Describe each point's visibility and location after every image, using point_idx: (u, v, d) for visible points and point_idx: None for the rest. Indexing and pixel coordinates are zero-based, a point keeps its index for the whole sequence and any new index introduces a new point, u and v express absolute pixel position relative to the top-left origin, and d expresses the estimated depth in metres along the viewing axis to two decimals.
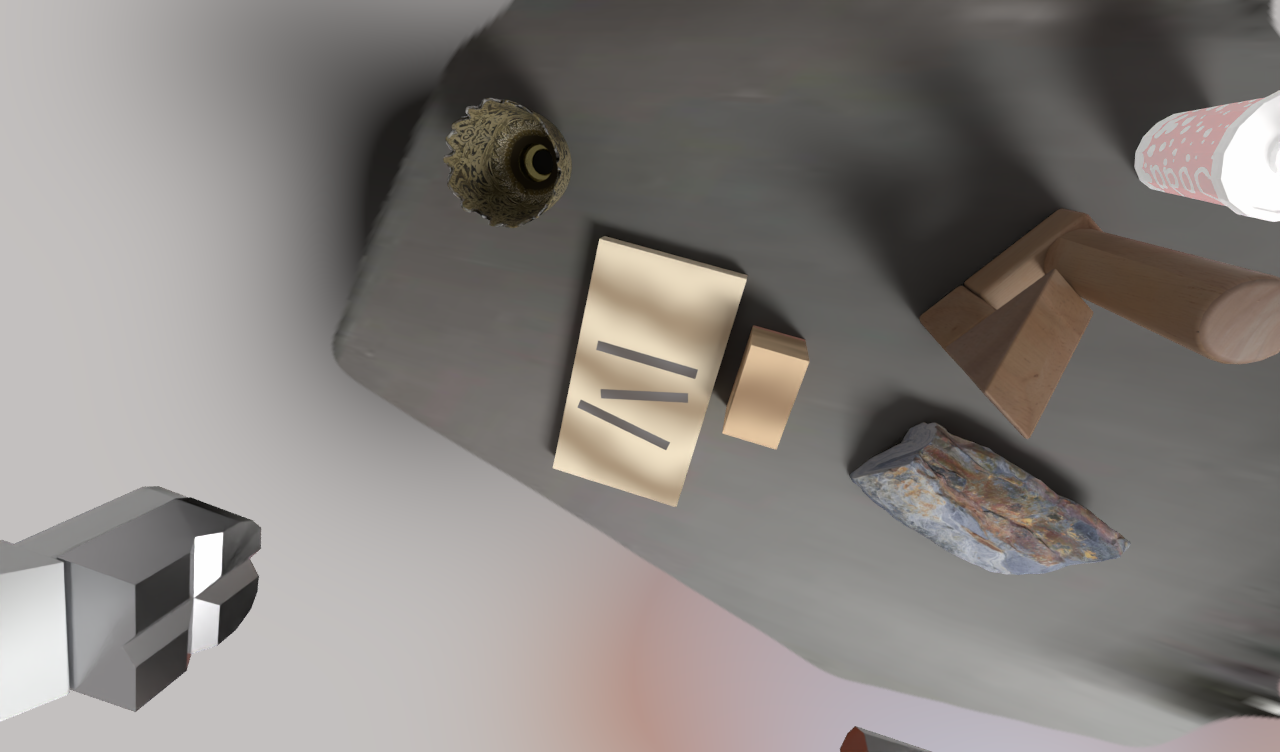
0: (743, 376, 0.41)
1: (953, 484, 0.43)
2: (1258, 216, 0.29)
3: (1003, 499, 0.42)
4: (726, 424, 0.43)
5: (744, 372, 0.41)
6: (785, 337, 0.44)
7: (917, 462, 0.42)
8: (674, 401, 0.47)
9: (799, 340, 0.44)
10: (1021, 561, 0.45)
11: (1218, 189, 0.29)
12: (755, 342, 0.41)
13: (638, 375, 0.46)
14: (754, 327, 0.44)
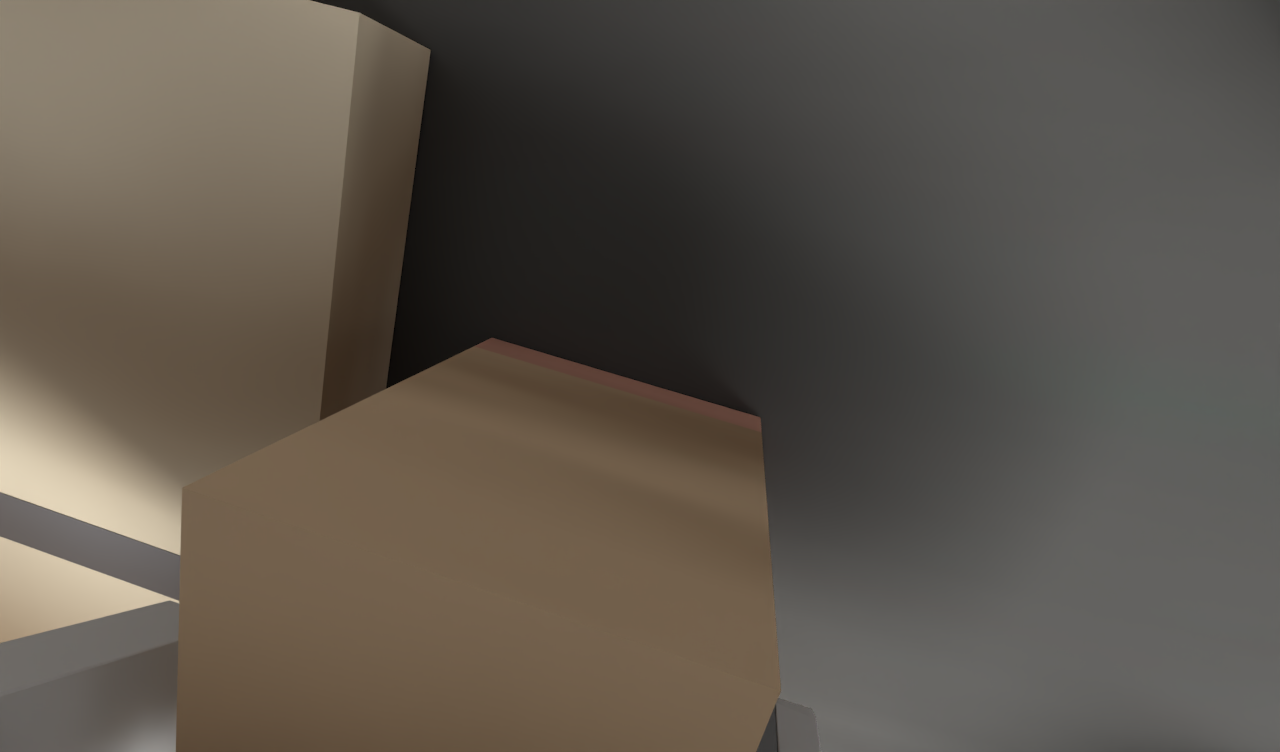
0: None
1: None
2: None
3: None
4: None
5: (193, 729, 0.04)
6: (643, 407, 0.08)
7: None
8: None
9: (726, 425, 0.08)
10: None
11: None
12: (296, 457, 0.05)
13: None
14: (480, 349, 0.08)
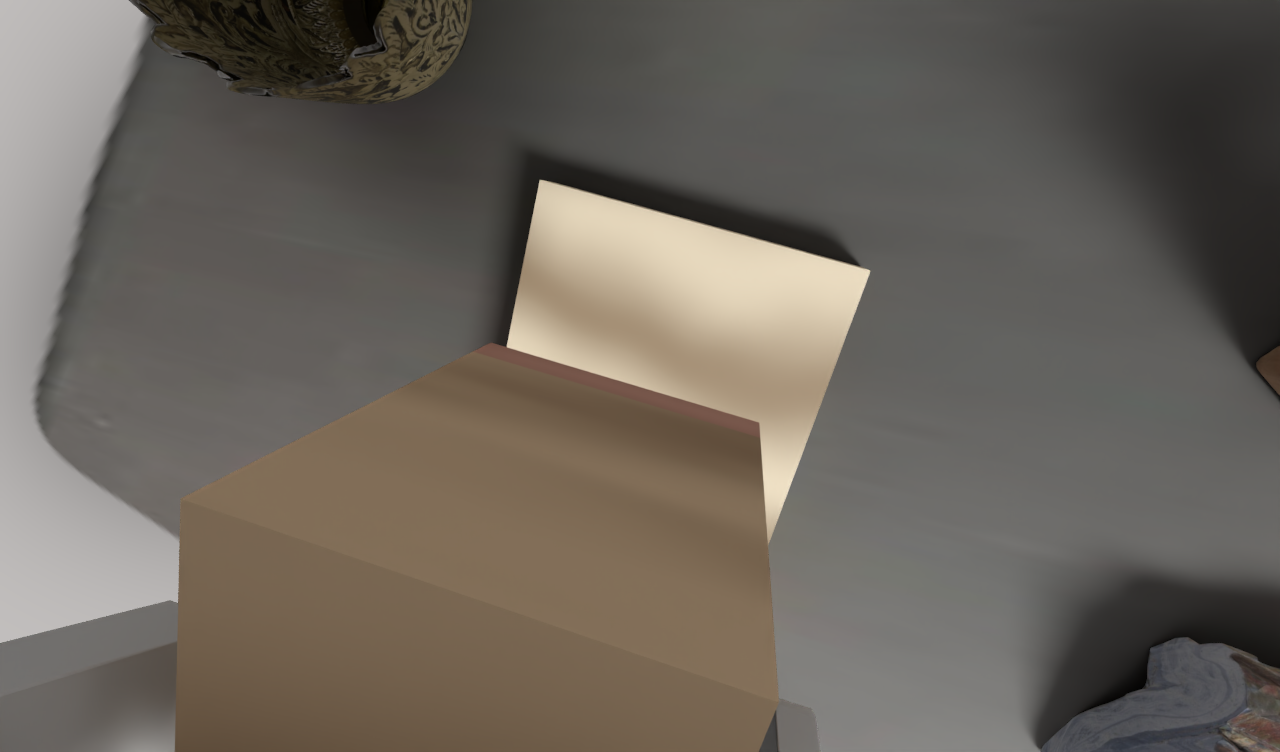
0: None
1: None
2: None
3: None
4: None
5: (193, 738, 0.04)
6: (642, 412, 0.08)
7: None
8: None
9: (724, 430, 0.08)
10: None
11: None
12: (294, 466, 0.05)
13: None
14: (479, 355, 0.08)
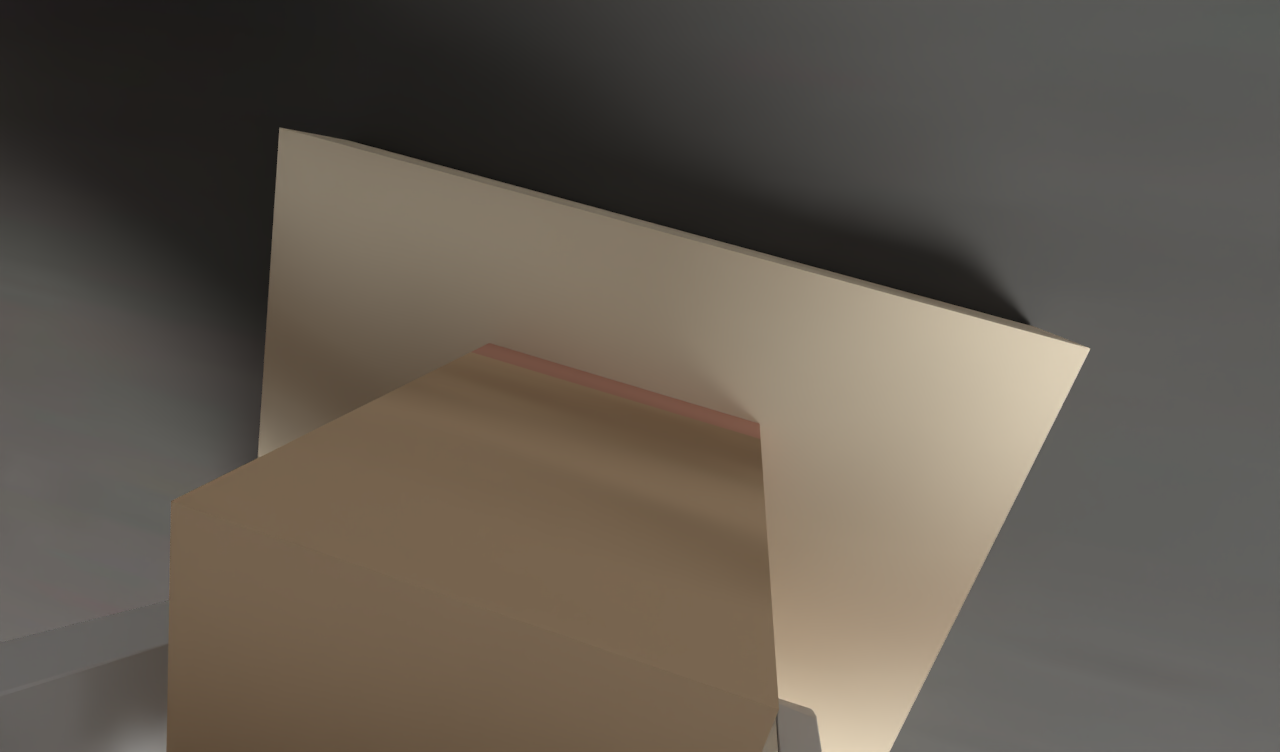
0: None
1: None
2: None
3: None
4: None
5: (184, 744, 0.04)
6: (642, 413, 0.07)
7: None
8: None
9: (724, 431, 0.08)
10: None
11: None
12: (288, 470, 0.04)
13: None
14: (477, 355, 0.08)
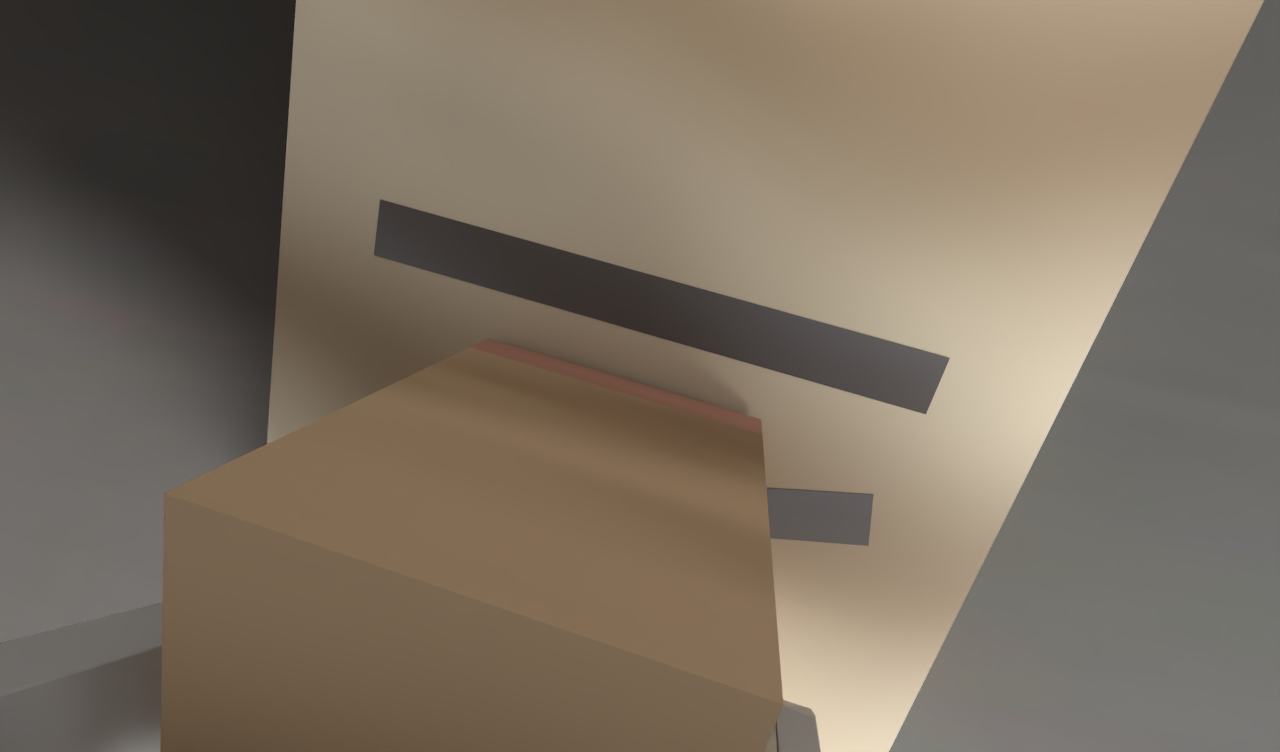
0: None
1: None
2: None
3: None
4: None
5: (178, 741, 0.04)
6: (642, 408, 0.07)
7: None
8: (790, 535, 0.09)
9: (726, 426, 0.08)
10: None
11: None
12: (283, 462, 0.04)
13: None
14: (476, 350, 0.08)
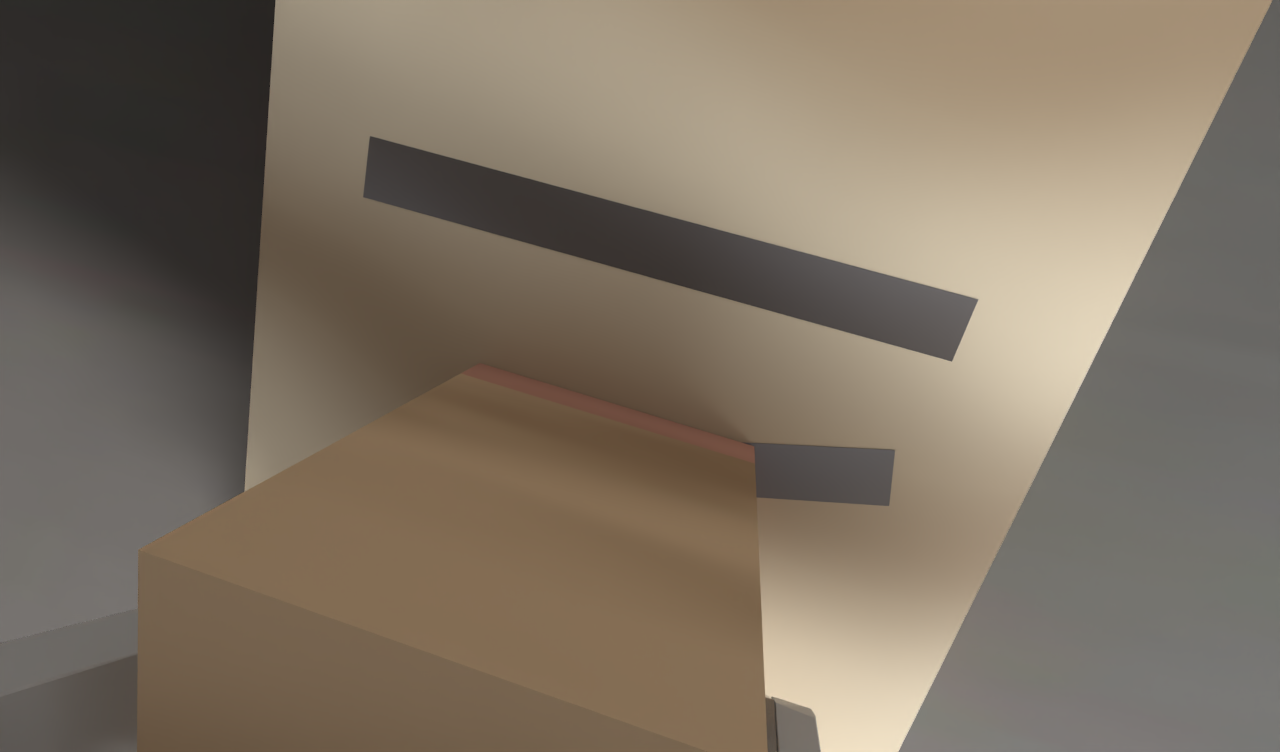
0: None
1: None
2: None
3: None
4: None
5: None
6: (634, 438, 0.07)
7: None
8: (805, 496, 0.08)
9: (718, 456, 0.07)
10: None
11: None
12: (264, 509, 0.04)
13: (603, 345, 0.08)
14: (467, 377, 0.08)
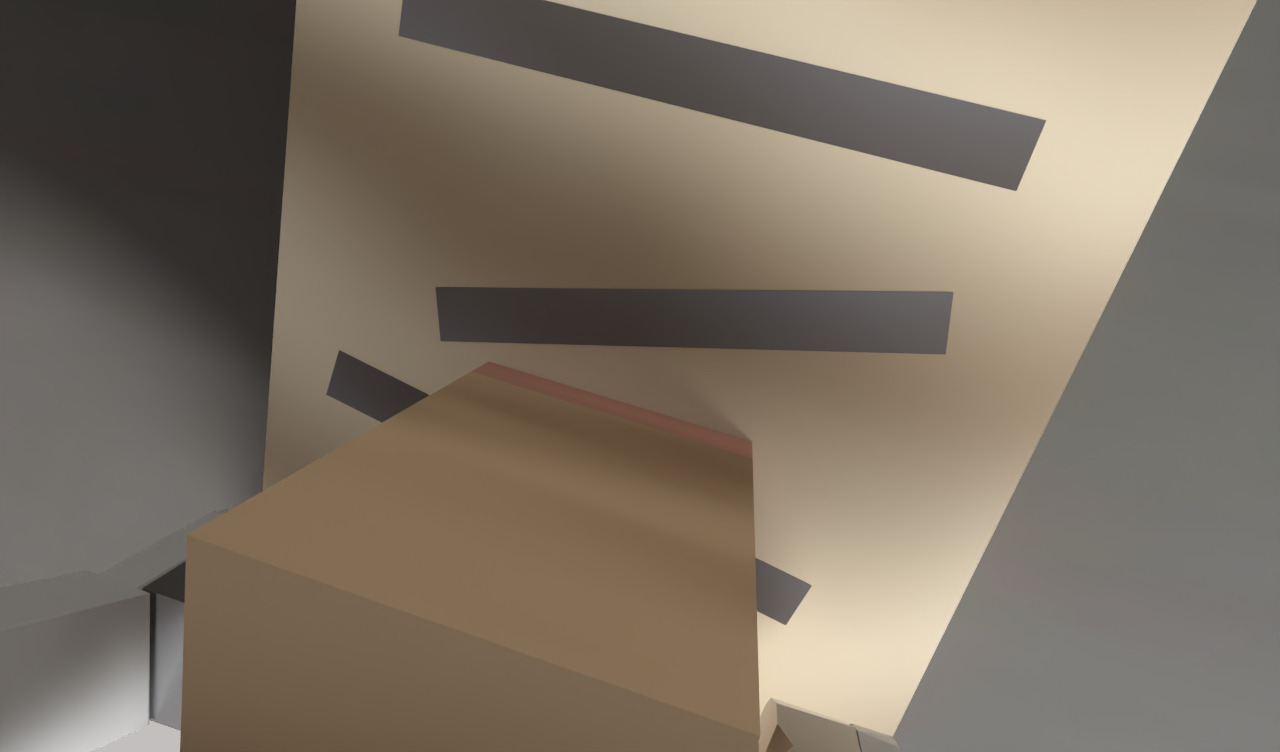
0: None
1: None
2: None
3: None
4: None
5: None
6: (636, 433, 0.08)
7: None
8: (857, 350, 0.08)
9: (717, 450, 0.08)
10: None
11: None
12: (296, 500, 0.05)
13: (648, 189, 0.08)
14: (477, 375, 0.08)
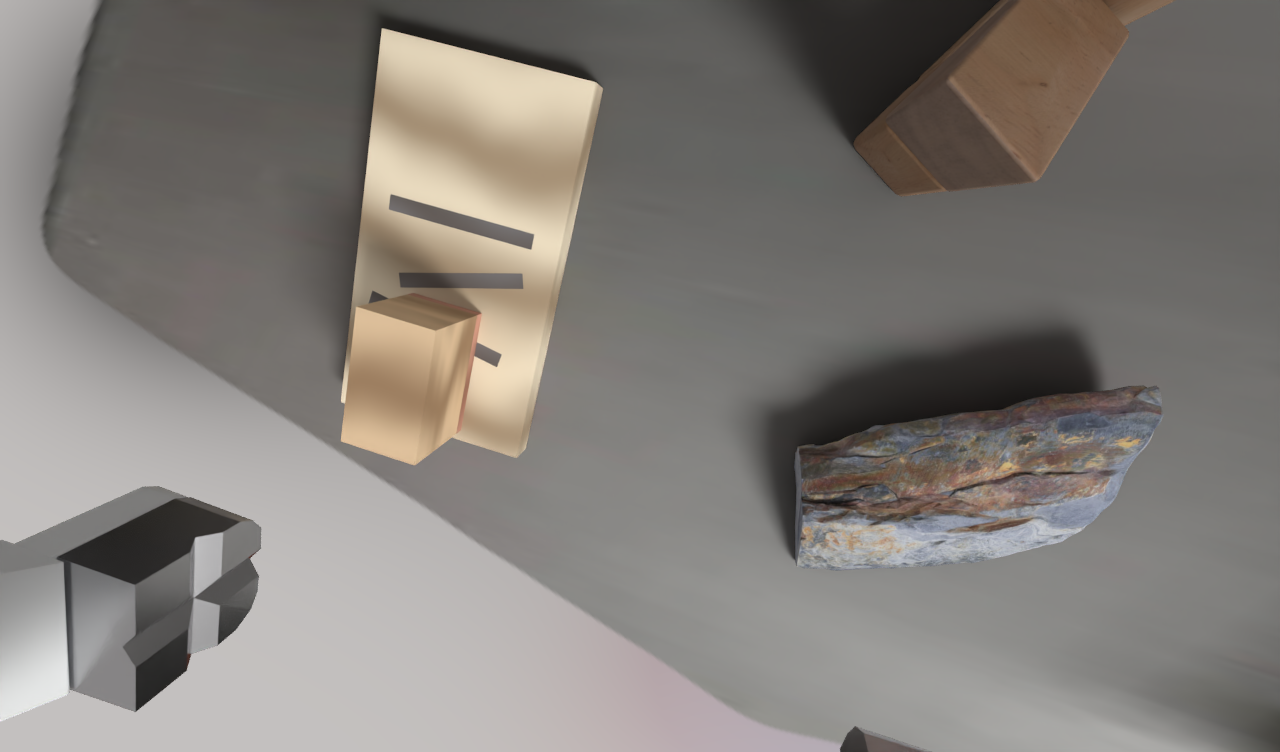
0: (353, 354, 0.28)
1: (878, 499, 0.29)
2: None
3: (947, 468, 0.28)
4: (343, 428, 0.29)
5: (354, 348, 0.28)
6: (447, 308, 0.31)
7: (809, 513, 0.29)
8: (505, 288, 0.32)
9: (467, 313, 0.31)
10: (1068, 509, 0.28)
11: None
12: (370, 306, 0.28)
13: (450, 248, 0.31)
14: (408, 295, 0.32)
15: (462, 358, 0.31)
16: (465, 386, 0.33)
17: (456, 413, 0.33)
